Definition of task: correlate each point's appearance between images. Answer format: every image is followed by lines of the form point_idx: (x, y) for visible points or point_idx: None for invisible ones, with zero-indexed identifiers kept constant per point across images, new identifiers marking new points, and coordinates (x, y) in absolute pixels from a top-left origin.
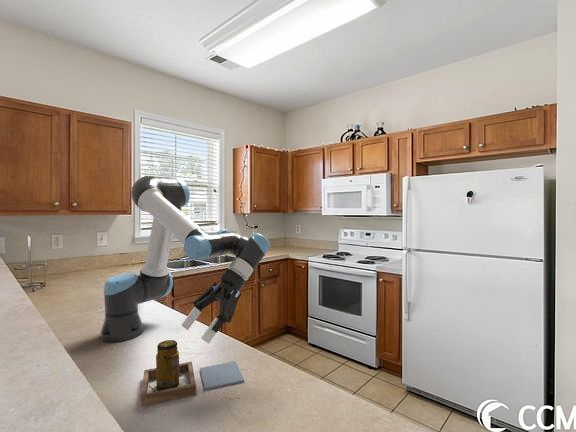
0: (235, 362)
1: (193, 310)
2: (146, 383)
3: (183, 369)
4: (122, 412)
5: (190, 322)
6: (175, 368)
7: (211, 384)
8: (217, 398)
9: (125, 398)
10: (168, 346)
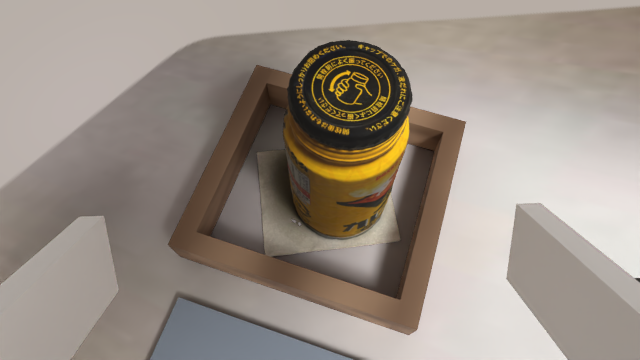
0: None
1: (633, 311)
2: None
3: (402, 281)
4: (274, 44)
5: (543, 292)
6: (292, 178)
7: (183, 339)
8: None
9: None
10: (296, 77)
